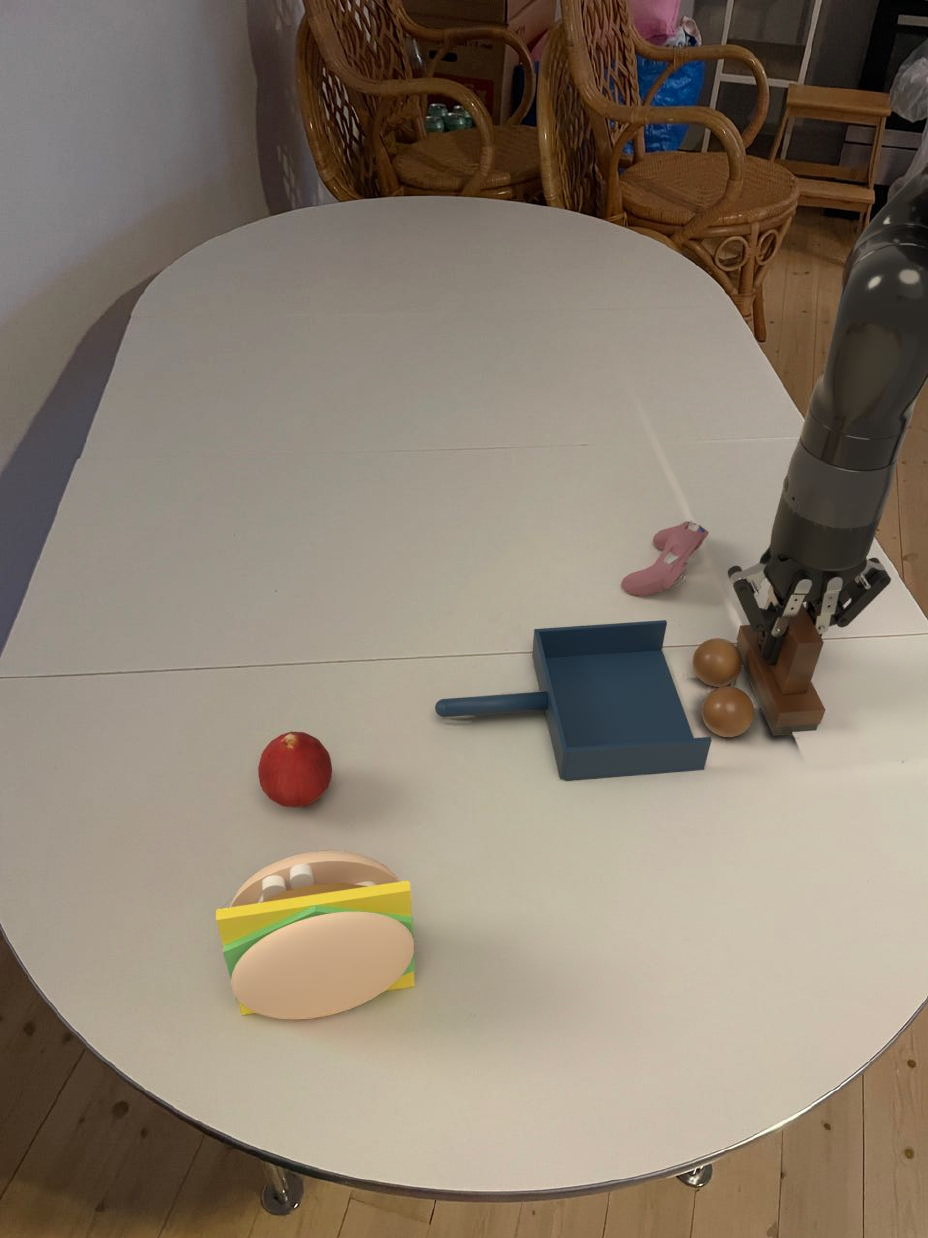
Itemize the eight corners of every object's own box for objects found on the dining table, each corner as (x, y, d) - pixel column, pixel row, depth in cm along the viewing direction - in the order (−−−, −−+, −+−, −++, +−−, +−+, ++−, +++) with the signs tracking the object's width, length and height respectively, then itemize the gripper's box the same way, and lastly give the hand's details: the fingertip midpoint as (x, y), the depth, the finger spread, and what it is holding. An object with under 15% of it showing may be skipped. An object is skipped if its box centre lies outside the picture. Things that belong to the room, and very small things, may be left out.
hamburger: (402, 912, 78) (397, 813, 70) (419, 1016, 72) (416, 921, 64) (239, 937, 76) (215, 839, 68) (242, 1046, 70) (216, 953, 62)
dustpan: (660, 649, 99) (666, 619, 97) (704, 770, 88) (711, 740, 86) (428, 665, 97) (427, 635, 95) (443, 791, 86) (443, 761, 84)
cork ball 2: (739, 708, 94) (749, 673, 91) (755, 745, 90) (765, 711, 87) (692, 712, 93) (700, 677, 90) (705, 749, 90) (714, 714, 87)
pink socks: (650, 617, 105) (689, 580, 99) (614, 588, 105) (652, 549, 100) (685, 563, 111) (724, 526, 106) (652, 536, 111) (689, 497, 106)
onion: (273, 768, 88) (262, 703, 83) (341, 774, 88) (334, 709, 82) (256, 824, 84) (243, 759, 78) (327, 831, 83) (319, 766, 78)
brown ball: (743, 638, 96) (709, 621, 94) (758, 672, 93) (724, 655, 91) (711, 668, 99) (677, 652, 97) (724, 702, 95) (690, 686, 93)
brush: (775, 645, 98) (796, 571, 92) (817, 733, 90) (844, 658, 84) (733, 648, 98) (752, 574, 92) (772, 737, 89) (796, 662, 83)
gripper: (761, 530, 76) (719, 694, 88) (942, 519, 77) (877, 683, 89) (730, 471, 81) (694, 634, 93) (900, 462, 83) (843, 624, 94)
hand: (784, 657), depth 91 cm, fingers closed on brush, 2 cm apart
